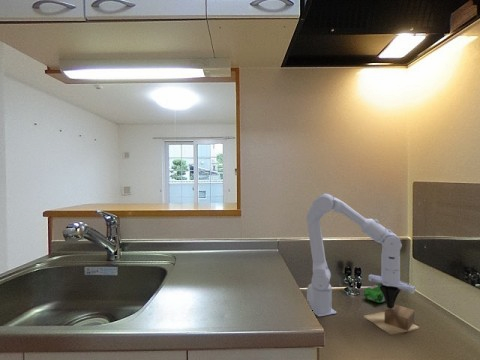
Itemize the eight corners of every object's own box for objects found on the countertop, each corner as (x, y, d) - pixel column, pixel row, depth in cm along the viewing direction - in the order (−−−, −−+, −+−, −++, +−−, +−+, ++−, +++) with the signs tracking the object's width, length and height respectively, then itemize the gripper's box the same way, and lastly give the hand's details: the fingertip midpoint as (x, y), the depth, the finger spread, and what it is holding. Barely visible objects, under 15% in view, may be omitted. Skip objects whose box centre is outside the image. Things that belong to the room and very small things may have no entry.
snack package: (360, 300, 113) (360, 288, 113) (381, 291, 121) (381, 280, 121) (376, 308, 107) (376, 294, 107) (398, 297, 115) (398, 285, 115)
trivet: (363, 317, 99) (363, 315, 99) (389, 311, 103) (389, 310, 103) (391, 335, 88) (391, 333, 88) (419, 328, 92) (419, 327, 92)
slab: (384, 311, 94) (407, 318, 90) (392, 303, 100) (414, 310, 95) (384, 322, 95) (407, 330, 90) (392, 314, 100) (414, 321, 95)
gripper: (364, 265, 99) (364, 302, 99) (408, 276, 87) (408, 319, 87) (374, 261, 103) (374, 297, 103) (417, 271, 91) (417, 312, 92)
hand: (390, 307), depth 95 cm, fingers closed
